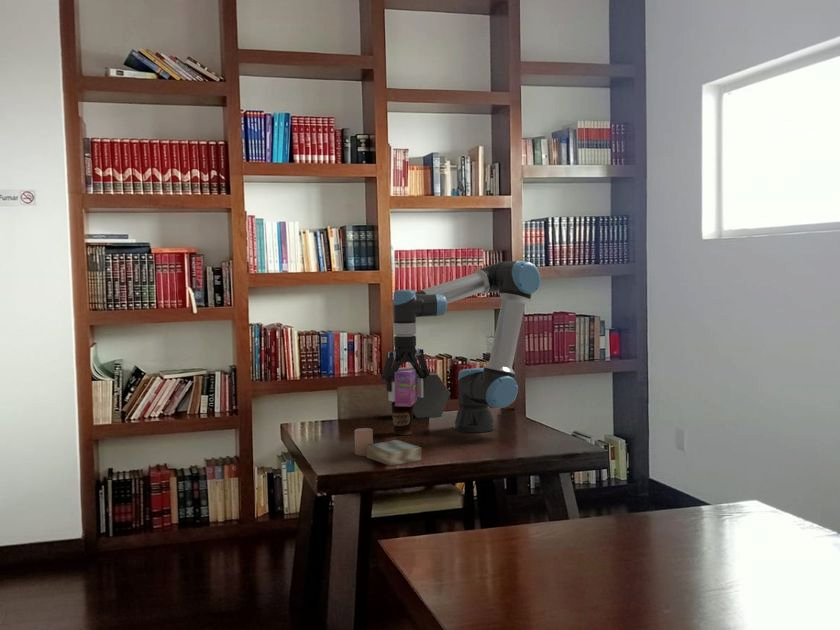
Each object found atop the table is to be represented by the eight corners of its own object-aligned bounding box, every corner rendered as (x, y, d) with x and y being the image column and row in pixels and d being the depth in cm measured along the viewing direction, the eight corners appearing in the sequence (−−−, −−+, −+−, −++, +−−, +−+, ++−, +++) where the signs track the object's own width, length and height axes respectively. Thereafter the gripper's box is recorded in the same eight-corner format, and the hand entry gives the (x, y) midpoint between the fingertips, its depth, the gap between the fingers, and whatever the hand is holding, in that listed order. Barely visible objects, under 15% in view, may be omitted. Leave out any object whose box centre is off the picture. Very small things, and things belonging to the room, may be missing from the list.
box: (411, 406, 276) (410, 371, 276) (394, 406, 278) (394, 371, 277) (417, 401, 287) (417, 367, 286) (401, 401, 288) (400, 367, 287)
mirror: (397, 451, 277) (397, 439, 277) (421, 459, 266) (421, 446, 266) (366, 457, 270) (366, 444, 270) (390, 465, 259) (390, 452, 259)
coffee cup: (412, 436, 301) (411, 401, 300) (389, 435, 303) (389, 400, 302) (415, 431, 310) (415, 397, 309) (394, 430, 311) (393, 396, 310)
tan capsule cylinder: (366, 450, 280) (366, 427, 279) (376, 453, 275) (376, 430, 274) (351, 453, 276) (351, 429, 276) (361, 456, 271) (360, 432, 271)
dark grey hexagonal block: (453, 401, 347) (426, 361, 343) (457, 404, 339) (430, 363, 336) (420, 425, 344) (393, 385, 341) (424, 428, 337) (396, 388, 333)
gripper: (426, 332, 290) (427, 393, 292) (369, 336, 277) (371, 401, 278) (439, 333, 284) (440, 396, 286) (381, 338, 271) (383, 404, 272)
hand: (406, 399), depth 282 cm, fingers closed on box, 11 cm apart
